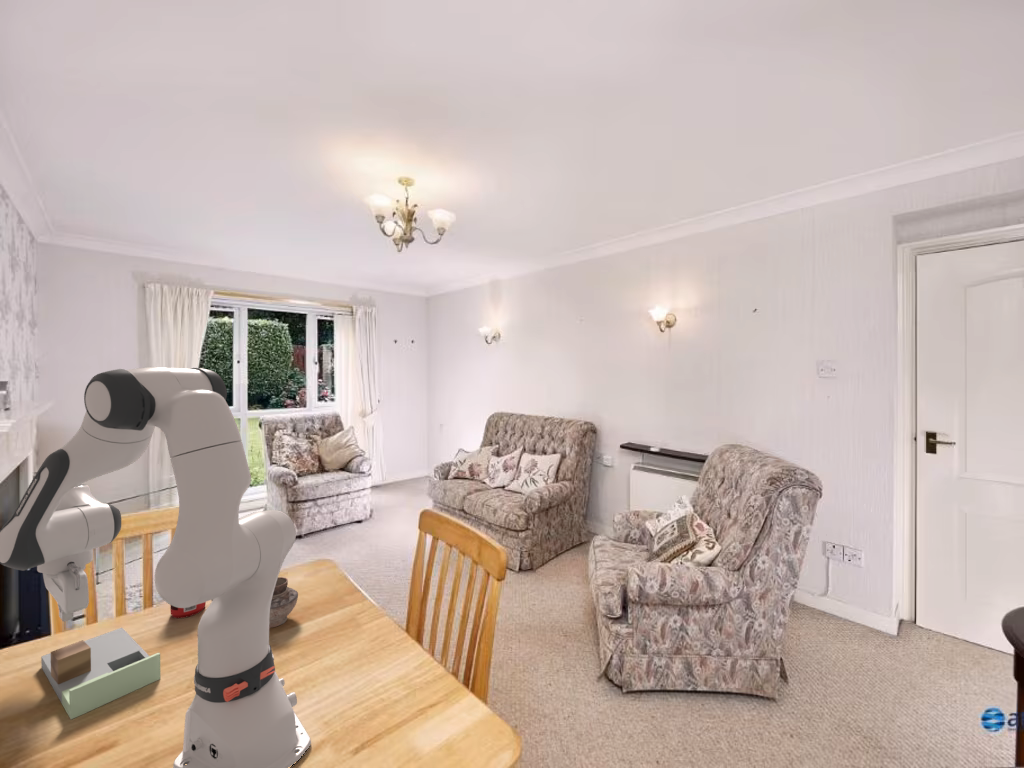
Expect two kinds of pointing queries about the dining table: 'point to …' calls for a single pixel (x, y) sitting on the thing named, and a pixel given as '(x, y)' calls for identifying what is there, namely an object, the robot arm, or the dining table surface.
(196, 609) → the canned food
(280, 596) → the pottery
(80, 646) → the walnut block
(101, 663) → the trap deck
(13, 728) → the dining table surface
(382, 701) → the dining table surface
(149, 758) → the dining table surface
